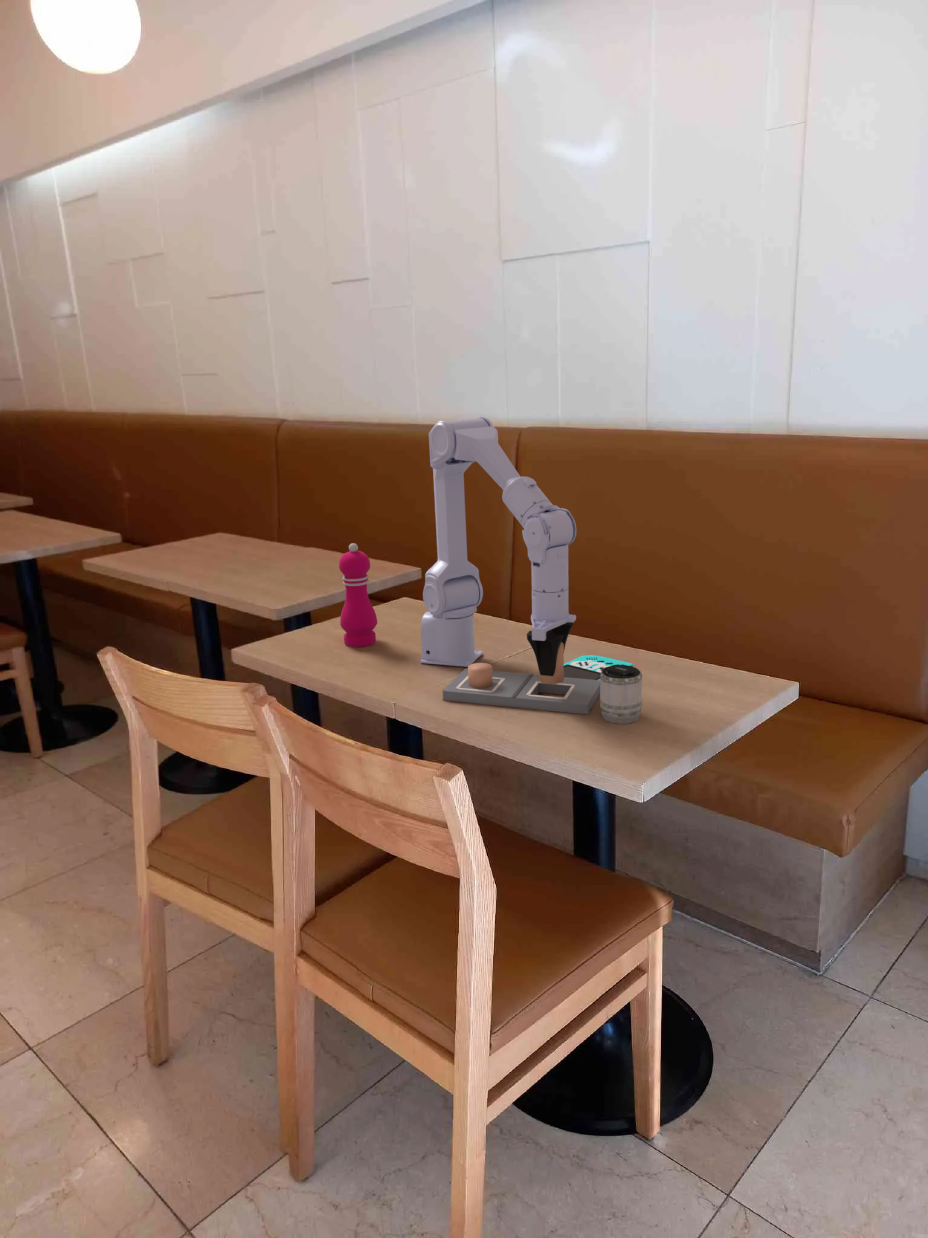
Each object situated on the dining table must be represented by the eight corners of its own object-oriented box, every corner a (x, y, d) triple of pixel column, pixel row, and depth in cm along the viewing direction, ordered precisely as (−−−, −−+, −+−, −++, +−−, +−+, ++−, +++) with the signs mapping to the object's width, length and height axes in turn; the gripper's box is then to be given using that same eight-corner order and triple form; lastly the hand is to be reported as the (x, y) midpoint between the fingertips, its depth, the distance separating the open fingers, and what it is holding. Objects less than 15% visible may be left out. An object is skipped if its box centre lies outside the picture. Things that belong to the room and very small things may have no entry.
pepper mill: (358, 634, 184) (351, 538, 178) (386, 640, 180) (379, 541, 174) (334, 644, 178) (326, 545, 173) (361, 650, 174) (354, 548, 168)
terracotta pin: (535, 682, 144) (535, 647, 142) (542, 674, 148) (541, 639, 146) (560, 685, 143) (560, 649, 141) (566, 676, 146) (566, 641, 145)
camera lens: (613, 706, 143) (613, 659, 141) (648, 714, 139) (650, 666, 137) (592, 718, 138) (592, 670, 136) (628, 728, 135) (629, 678, 132)
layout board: (443, 700, 148) (441, 673, 147) (465, 677, 158) (464, 652, 157) (587, 714, 140) (587, 686, 139) (601, 689, 150) (602, 663, 149)
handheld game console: (634, 670, 160) (634, 662, 159) (582, 696, 149) (582, 689, 148) (587, 658, 166) (587, 651, 166) (533, 683, 155) (533, 676, 155)
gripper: (563, 601, 133) (564, 688, 137) (585, 578, 146) (585, 657, 150) (517, 599, 135) (519, 684, 139) (543, 576, 149) (544, 654, 152)
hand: (550, 670), depth 145 cm, fingers closed on terracotta pin, 4 cm apart
